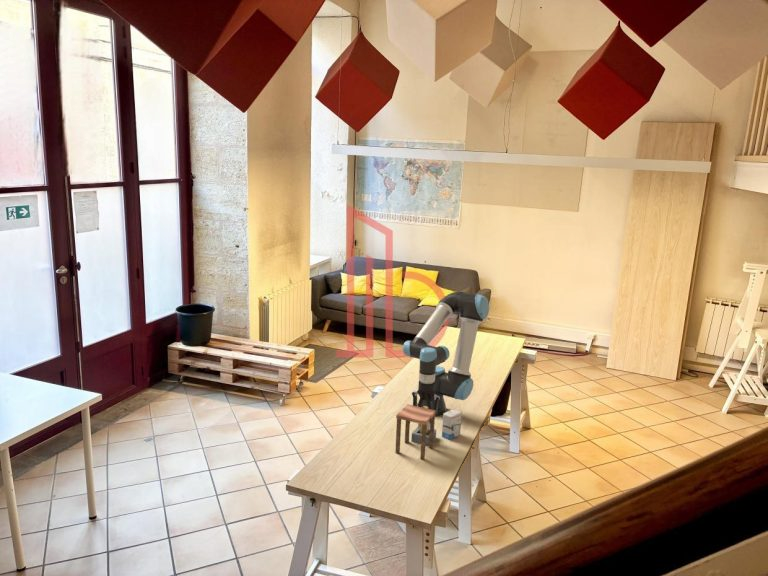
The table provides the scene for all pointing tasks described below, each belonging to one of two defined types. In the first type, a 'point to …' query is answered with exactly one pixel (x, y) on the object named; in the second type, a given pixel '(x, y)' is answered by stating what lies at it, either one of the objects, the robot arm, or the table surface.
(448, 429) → the ink box
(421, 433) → the peg
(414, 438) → the socket block
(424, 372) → the robot arm
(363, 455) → the table surface
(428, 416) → the wooden stool
